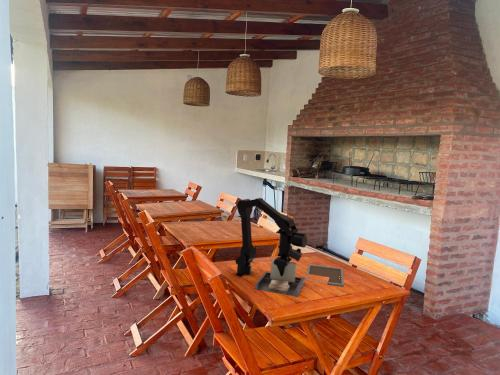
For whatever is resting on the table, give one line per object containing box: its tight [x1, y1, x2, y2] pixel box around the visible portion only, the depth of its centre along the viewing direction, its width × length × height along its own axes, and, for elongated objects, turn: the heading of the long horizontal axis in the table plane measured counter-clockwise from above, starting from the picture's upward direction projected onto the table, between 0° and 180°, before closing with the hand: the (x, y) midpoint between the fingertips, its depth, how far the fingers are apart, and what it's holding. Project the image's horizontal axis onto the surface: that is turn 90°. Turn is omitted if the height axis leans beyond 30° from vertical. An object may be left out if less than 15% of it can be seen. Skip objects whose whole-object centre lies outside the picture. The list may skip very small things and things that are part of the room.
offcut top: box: [270, 280, 288, 288], centre depth 187 cm, size 8×4×2 cm, turn 79°
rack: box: [254, 270, 306, 298], centre depth 190 cm, size 20×19×4 cm
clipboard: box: [305, 264, 345, 288], centre depth 214 cm, size 19×2×30 cm
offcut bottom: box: [269, 283, 290, 292], centre depth 187 cm, size 9×5×2 cm, turn 73°
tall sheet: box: [270, 259, 297, 282], centre depth 193 cm, size 12×2×11 cm, turn 73°
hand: (282, 274), depth 194 cm, fingers open, 5 cm apart
